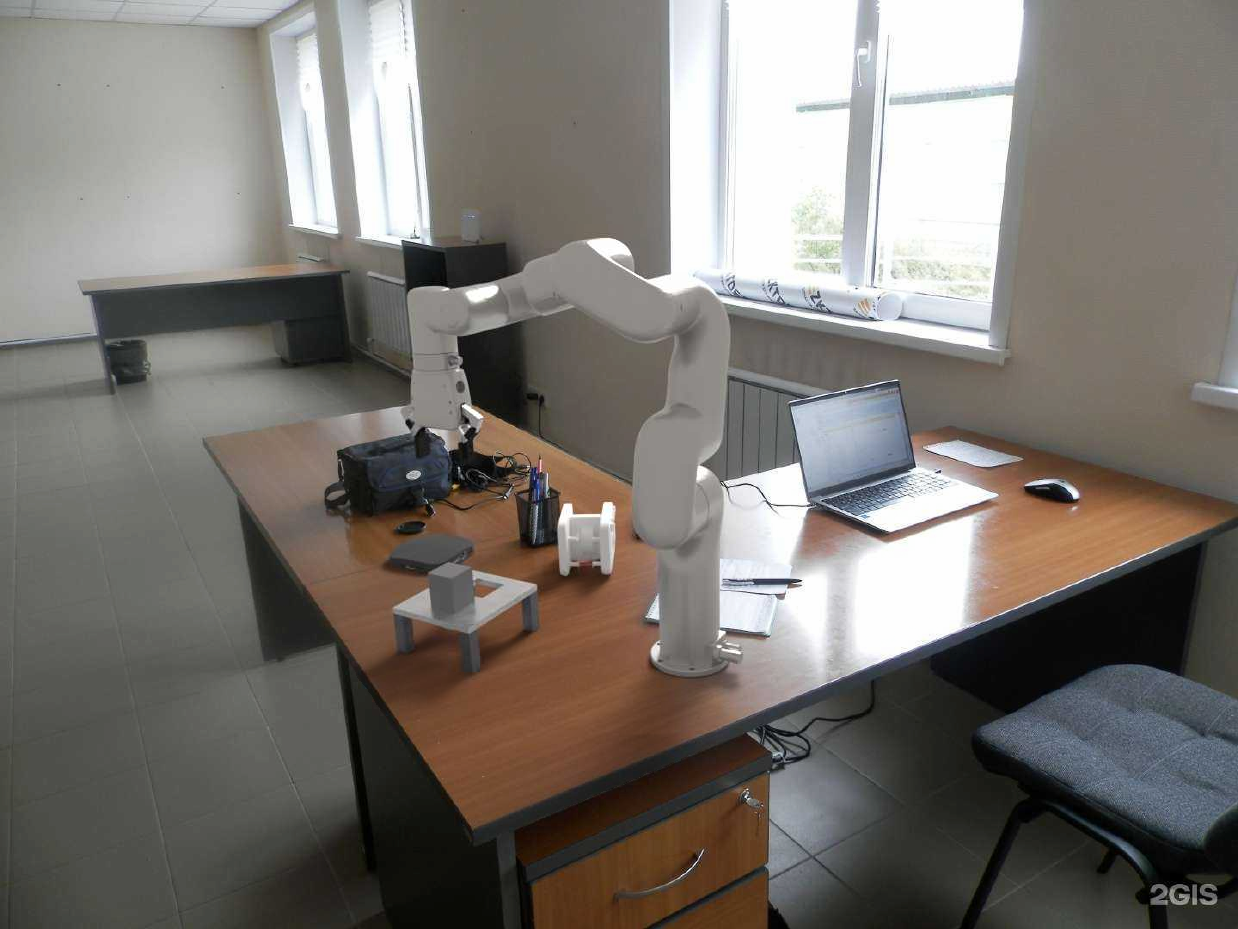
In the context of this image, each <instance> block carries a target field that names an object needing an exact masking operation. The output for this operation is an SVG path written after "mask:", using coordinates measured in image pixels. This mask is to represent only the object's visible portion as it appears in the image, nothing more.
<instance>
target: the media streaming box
mask: <svg viewBox="0 0 1238 929" xmlns="http://www.w3.org/2000/svg"><path fill="white" fill-rule="evenodd" d="M474 546H475V545H474V542H473V540H471V539H468V538H465V537H463V536H460V535H459V536H458V535H454V534H448V533H447V534H446V533H445V534H443V533H442V534H441V533H435V534H427V535H421V536H416V537H413V538H410V539H407V540H406V541H404V542H402V543H401V544H399V545H397V546H395V548H393V549H392V550H391V551H390V552H389V562H390V565H391V566H392V567H394V568H398V569H404V570H408V571H409V570H410V571H413V572H414V571H415V572H420V573H427V574H428V573H429V572H430V571H432V570H434V569H436V568H438V567H440V566H442V565H444V564H446V563H448V562H450V563H455V564H459V565H460V564H461V563H462V562H464V561H465V560H466V559H469V558H470V557H471V556H472V555H474V553H475V548H474Z"/></svg>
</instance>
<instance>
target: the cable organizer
mask: <svg viewBox="0 0 1238 929" xmlns="http://www.w3.org/2000/svg"><path fill="white" fill-rule="evenodd" d="M616 510H617V509H616V505H614V504H613V502H612V501H611V502H610V501H609V502H603V504H602V509H601V513H596V514H595V513H594V514H593V513H588V514H586V513H585V514H583V513H582V514H574V513H573V504H572V503H564V504H563V506H562V509H561V512H560V516H559V519H558V522H557V545H558V548H557V549H558V564H559V573H560V575H562V576H564V577H567V576H569V574H570V570H571V567H578V568H577V569H578V570H580V560H591V561H592V568H594V567H600V571H601V574H603V575H605V576H607V575H610V574H611V573H612V570H613V564H614V557H615V550H616V549H615V548H616V523H615V517H616V512H617V511H616ZM573 560H577V561H573ZM594 560H600V561H594Z"/></svg>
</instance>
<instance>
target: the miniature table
mask: <svg viewBox="0 0 1238 929" xmlns="http://www.w3.org/2000/svg"><path fill="white" fill-rule="evenodd" d="M472 575H473V586H474V598H475V601H474V602H472V603H471V604H469V605H467V606H466V607H464V608H462V609H461V610H459V611H457V612H456V613H452V612H448V611H445V610H441V609H437V608H433V607H431V600H430V591H429V587H428V588H426V589H424V590H422V591H421V592H419V593H417V594H415V595H413V596H411V597H409V598H408V599H406V600H404V601H402V602H400V603H399V604H397V605H395V606H393V607H392V614H393V616H392V617H393V622H394V631H395V638H396V639H395V640H396V648H397V653H400V654H404V655H408V654H410V653H411V652H413V651H414V650H416V645H415V643H416V642H415V637H414V628H413V627H414V626H413V625H414V624H413V620H416V621H421V622H425V623H427V624H432V625H435V626H439V627H442V628H443V627H446V628H449V629H448V630H450V629H453V630H454V631H458V633H459V645H460V655H461V665H462V672H464V673H467V674H470V675H474V674H475V673H476V672H479V670H481V669H482V667H481V654H480V643H479V642H480V641H479V634H478V629H479V628H481V627H483V625H485V624H487V623H488V622H490V621H492V620H493V619H495V618H496V617H498V616H499V615H501V614H502V613H504V612H505V611H507V610H508V609H511V608H512V607H513V606H514V605H516V604H518V603H519V602H521V613H522V614H521V615H522V627H523V629H522V630H524V631H529V632H531V633H533V632H535V631H536V630H538V629H539V628H540V627H541V625H540V611H539V598H538V597H539V596H538V584H535V583H531V582H527V581H522V580H518V579H514V578H509V577H504V576H500V575H496V574H492V573H487V572H482V571H477V570H473V569H472ZM476 585H481V586H486V587H490V588H496V590H495V589H494V590H493V591H492V592H490V593H488V594H486V595H485V596H484V597H479V596H476V587H475V586H476ZM412 619H413V620H412Z"/></svg>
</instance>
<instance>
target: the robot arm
mask: <svg viewBox="0 0 1238 929" xmlns="http://www.w3.org/2000/svg"><path fill="white" fill-rule="evenodd" d="M406 299H407V303H406V304H407V310H408V312H407V313H408V321H409V332H410V340H411V341H410V342H411V352H412V354H411V355H412V361H413V362H412V363H413V364H412V365H413V369H412V370H411V378H410V379H411V380H410V381H411V382H410V403H409V404H407V405H405V406H404V407H402V408H401V409H400V414H401V416H402V418H403V420H404V421H405V422H404V424H405V425H406V427H407V428H408V429H409V433H410V435H411V436H412V437H413V442H414V448H415V449H414V450H415V458H416V459H420V460H421V459H423V458H425V457H428V456H430V455H431V454H432V449H431V439H430V432H427V430H429V429H434V430H441V431H442V430H443V431H452V432H454V433H455V435H456V436H457V438H458V439H459V440H460V441H459V442H457V449H458V450H457V451H458V459H459V461H458V462H459V465H460V466H465V465H468V464H471V463H473V462H474V461H475V451H474V448H475V447H474V440H476V438H477V435H478V434H479V433H480V432H481V427H482V425H483V422H484V416H482V415H481V414H480V413H478V412H477V411H476V410H474V409H473V405H472V398H471V394H470V389H469V388H470V387H469V384H468V380H467V376H466V373H465V371H464V369H463V368H460V366H461V365H462V364H463V362H464V361H463V357H461V356H459V348H458V347H459V346H458V337H464V336H469V335H473V334H478V333H481V332H484V331H488V330H493V329H498V328H501V327H505V326H508V325H511V324H515V323H517V322H521V321H525V320H527V319H531V318H535V317H538V316H543V317H545V316H546V317H547V316H548V315H552V314H555V313H559V312H562V311H566V310H569V309H571V308H572V309H573V308H576V309H578V310H579V311H581V312H582V313H584V314H586V315H588V316H589V317H590V318H592V319H594V320H595V321H596V322H598V323H600V324H602V325H603V326H605V327H607V328H609V330H610V329H611V330H612V331H613V332H615V333H617V334H619V335H620V336H622V337H623V338H626V339H628V340H630V341H633V342H636V343H641V344H652V343H658V342H660V341H663V340H665V339H668V338H670V337H673V338H674V346H673V351H672V355H671V358H670V362H669V365H668V373H667V391H666V398H665V405H664V407H663V408H662V409H661V410H659V411H657V412H656V413H654V414H652V415H651V416H650V417H649V418H647V419H646V420H645V422H644V423H643V425H642V426H641V428H640V430H639V433H638V435H637V438H636V441H635V446H634V447H635V448H634V455H633V470H632V472H633V473H632V486H631V487H632V488H631V489H632V490H631V491H632V492H631V507H630V508H631V510H630V511H631V519H632V523H633V527H634V529H635V532H636V533H637V535H638V537H639V538H640V540H642V542H644V543H645V544H646V545H647V546H649V547H650V548H653V549H654V550H657V577H658V578H657V581H658V582H657V584H658V620H659V621H658V623H659V628H658V629H659V640H658V641H656V642H655V643H654V644H653V645H652V647H651V648H650V652H649V653H650V654H649V656H650V661H651V663H652V664H653V666H654V668H656V669H658V670H659V671H661V672H663V673H665V674H668V675H672V676H676V677H682V678H683V677H684V678H697V677H698V678H699V677H704V676H710V675H713V674H715V673H717V672H719V671H721V670H722V669H724V668H725V667H726V666H727V665H728V664H729V663H732V664H735V665H739V666H740V665H741V664H742V662H743V659H744V653H743V652H742V645H741V644H738V643H737V644H736V643H731V642H729V641H728V640H727V634H726V633H727V632H726V631H725V630H721V627H720V626H721V625H720V624H721V621H720V620H721V615H720V614H721V608H720V607H721V605H720V604H721V601H720V598H721V597H720V596H721V595H720V594H721V591H720V590H721V588H720V581H721V580H720V577H721V575H720V567H721V564H720V563H721V537H722V536H721V535H722V526H723V518H724V511H725V510H724V509H725V496H724V495H725V494H724V490H723V487H722V484H721V482H720V480H719V478H718V477H717V476H716V475H715V474H714V472H712V471H711V470H710V469H708V468H706V467H704V466H702V464H703V463H705V462H706V461H707V460H708V459H710V458H711V457H712V456H714V454H715V453H716V452H717V451H718V450H719V449H720V446H721V444H722V441H723V435H724V427H725V426H724V425H725V412H726V411H725V410H726V400H727V398H726V397H727V386H728V384H727V383H728V370H729V359H730V350H731V349H730V347H731V325H730V320H729V316H728V312H727V309H726V307H725V304H724V303H723V301H722V299H721V298H720V297H719V295H718V294H717V292H715V291H714V289H713V288H711V286H709V285H708V284H706V283H705V282H703V281H702V280H701V279H698V278H697V277H695V276H691V275H687V274H683V273H682V274H681V273H671V274H665V275H661V276H656V277H652V278H648V279H645V278H643V277H642V276H639V275H637V274H636V273H635V261H634V257H633V254H632V253H631V251H630V249H629V248H628V247H627V246H626V245H625V244H624V243H622V242H621V241H619V240H617V239H614V238H610V237H599V238H597V237H596V238H591V239H582V240H576V241H571V242H569V243H567V244H565V245H564V246H562V247H560V249H559V250H557V252H554V253H552V254H547V255H545V256H541V257H538V258H536V259H535V258H534V259H532V260H530V261H529V262H527V263H526V264H525V266H524V267H523V270H522V271H520V272H518V273H516V274H513V275H510V276H506V277H504V278H500V279H497V280H494V281H490V282H485V283H478V284H472V285H468V286H462V287H456V288H450V287H446V286H443V285H442V286H441V285H439V286H438V285H432V286H430V285H429V286H427V285H426V286H420V287H419V286H418V287H413V288H412V289H410V290H409V291H408V293H407V297H406Z"/></svg>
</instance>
